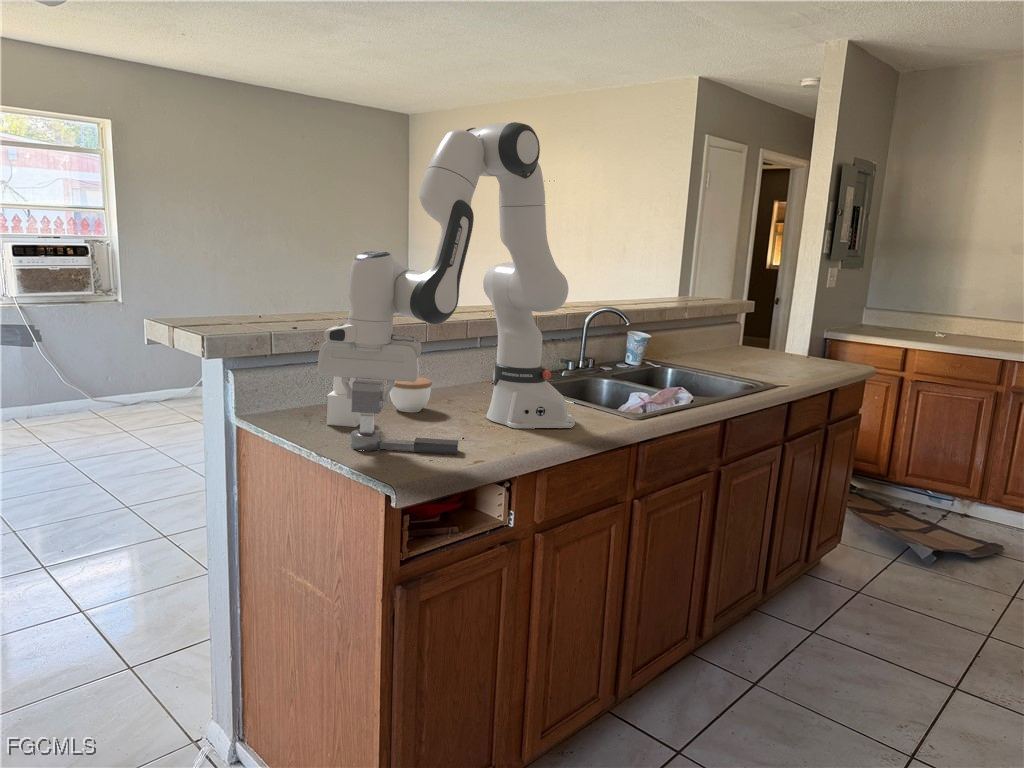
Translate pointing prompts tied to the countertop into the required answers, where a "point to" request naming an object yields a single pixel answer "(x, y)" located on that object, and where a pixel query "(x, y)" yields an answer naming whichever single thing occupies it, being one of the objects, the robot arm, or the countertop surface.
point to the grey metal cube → (367, 395)
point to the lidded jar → (411, 394)
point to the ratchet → (373, 440)
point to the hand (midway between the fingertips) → (367, 399)
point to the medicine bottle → (341, 406)
